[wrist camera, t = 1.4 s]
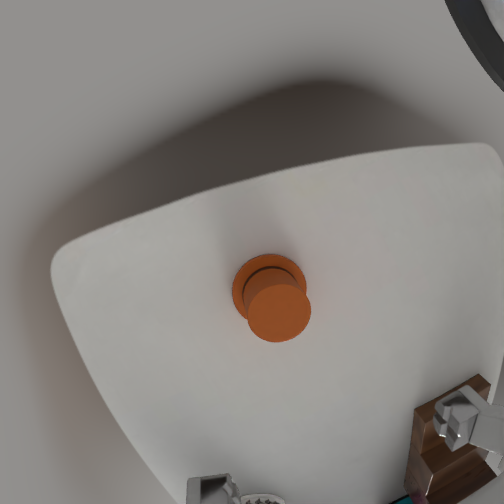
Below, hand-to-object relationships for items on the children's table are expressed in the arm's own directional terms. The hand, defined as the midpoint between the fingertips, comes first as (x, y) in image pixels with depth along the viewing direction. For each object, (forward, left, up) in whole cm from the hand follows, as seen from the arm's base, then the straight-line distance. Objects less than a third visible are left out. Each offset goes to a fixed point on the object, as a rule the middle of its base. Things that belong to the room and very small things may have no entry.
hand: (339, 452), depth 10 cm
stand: (+15, +34, -17) cm, 41 cm away
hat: (0, 0, -17) cm, 17 cm away
